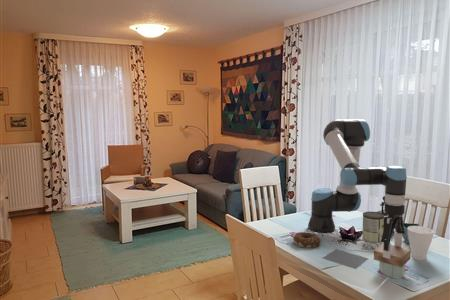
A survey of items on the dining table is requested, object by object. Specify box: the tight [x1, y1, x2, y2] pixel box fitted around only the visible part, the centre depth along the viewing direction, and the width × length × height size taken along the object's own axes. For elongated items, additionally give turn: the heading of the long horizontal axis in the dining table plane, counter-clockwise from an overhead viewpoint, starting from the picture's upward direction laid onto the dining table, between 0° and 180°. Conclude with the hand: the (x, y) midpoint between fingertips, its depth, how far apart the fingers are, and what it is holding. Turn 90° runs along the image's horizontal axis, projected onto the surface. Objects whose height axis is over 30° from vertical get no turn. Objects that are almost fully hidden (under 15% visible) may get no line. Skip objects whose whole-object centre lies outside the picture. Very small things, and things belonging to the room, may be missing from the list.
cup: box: [407, 225, 434, 261], centre depth 158 cm, size 10×10×14 cm
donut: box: [293, 231, 321, 249], centre depth 176 cm, size 14×14×5 cm
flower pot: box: [401, 222, 421, 245], centre depth 175 cm, size 9×9×9 cm
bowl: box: [378, 261, 406, 279], centre depth 144 cm, size 9×9×6 cm
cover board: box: [373, 243, 412, 268], centre depth 143 cm, size 11×11×4 cm
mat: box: [322, 248, 369, 270], centre depth 157 cm, size 16×14×1 cm
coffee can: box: [361, 211, 384, 245], centre depth 179 cm, size 10×10×14 cm
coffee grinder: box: [377, 195, 395, 235], centre depth 196 cm, size 16×11×18 cm
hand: (392, 252), depth 143 cm, fingers open, 13 cm apart
